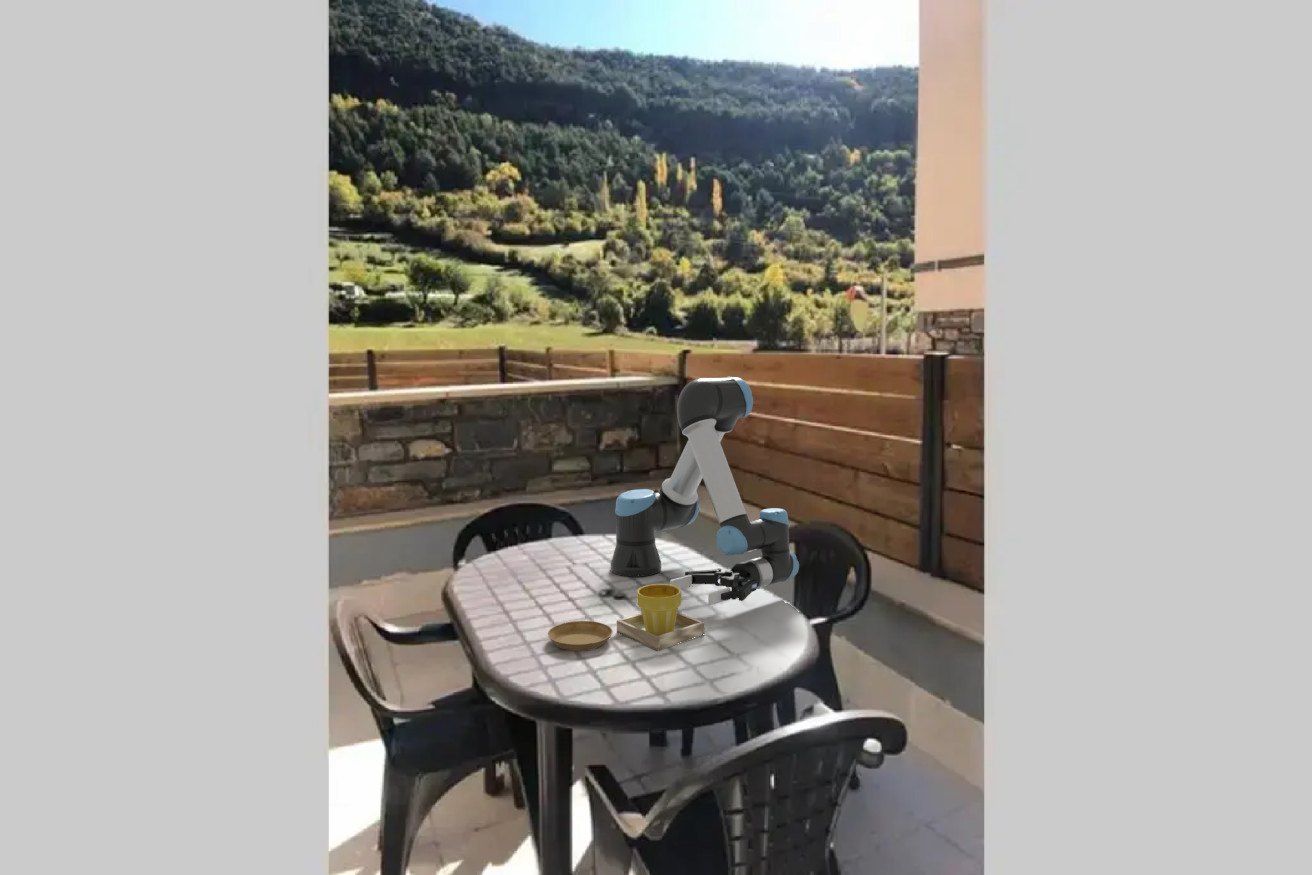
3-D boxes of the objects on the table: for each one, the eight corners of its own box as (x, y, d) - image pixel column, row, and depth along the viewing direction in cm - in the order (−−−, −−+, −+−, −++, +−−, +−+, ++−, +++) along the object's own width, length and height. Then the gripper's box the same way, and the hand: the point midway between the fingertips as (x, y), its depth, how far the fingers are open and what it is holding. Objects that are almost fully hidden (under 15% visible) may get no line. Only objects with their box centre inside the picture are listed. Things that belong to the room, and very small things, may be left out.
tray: (663, 618, 198) (663, 606, 197) (704, 634, 187) (704, 622, 186) (616, 632, 188) (616, 620, 188) (656, 651, 177) (656, 638, 177)
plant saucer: (553, 630, 191) (553, 620, 190) (615, 631, 190) (615, 620, 190) (542, 655, 176) (542, 643, 176) (609, 655, 175) (609, 644, 175)
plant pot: (633, 637, 184) (632, 596, 182) (641, 621, 194) (641, 582, 192) (677, 640, 182) (677, 598, 181) (684, 624, 192) (684, 584, 191)
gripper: (787, 601, 197) (726, 621, 183) (716, 578, 216) (656, 594, 202) (788, 571, 196) (726, 589, 182) (717, 551, 215) (656, 565, 201)
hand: (689, 592), depth 192 cm, fingers open, 13 cm apart
